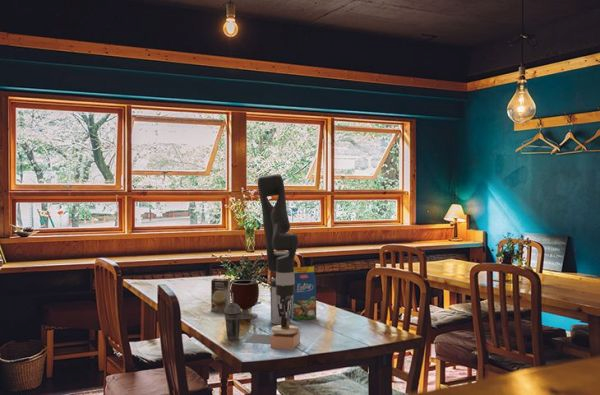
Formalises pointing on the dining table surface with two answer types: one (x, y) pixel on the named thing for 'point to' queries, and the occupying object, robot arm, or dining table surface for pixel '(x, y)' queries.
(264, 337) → the mat
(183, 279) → the dining table surface
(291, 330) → the lid
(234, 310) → the beverage cup
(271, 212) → the robot arm
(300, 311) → the blue food package
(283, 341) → the open wooden box
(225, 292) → the coffee box
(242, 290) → the mate gourd
